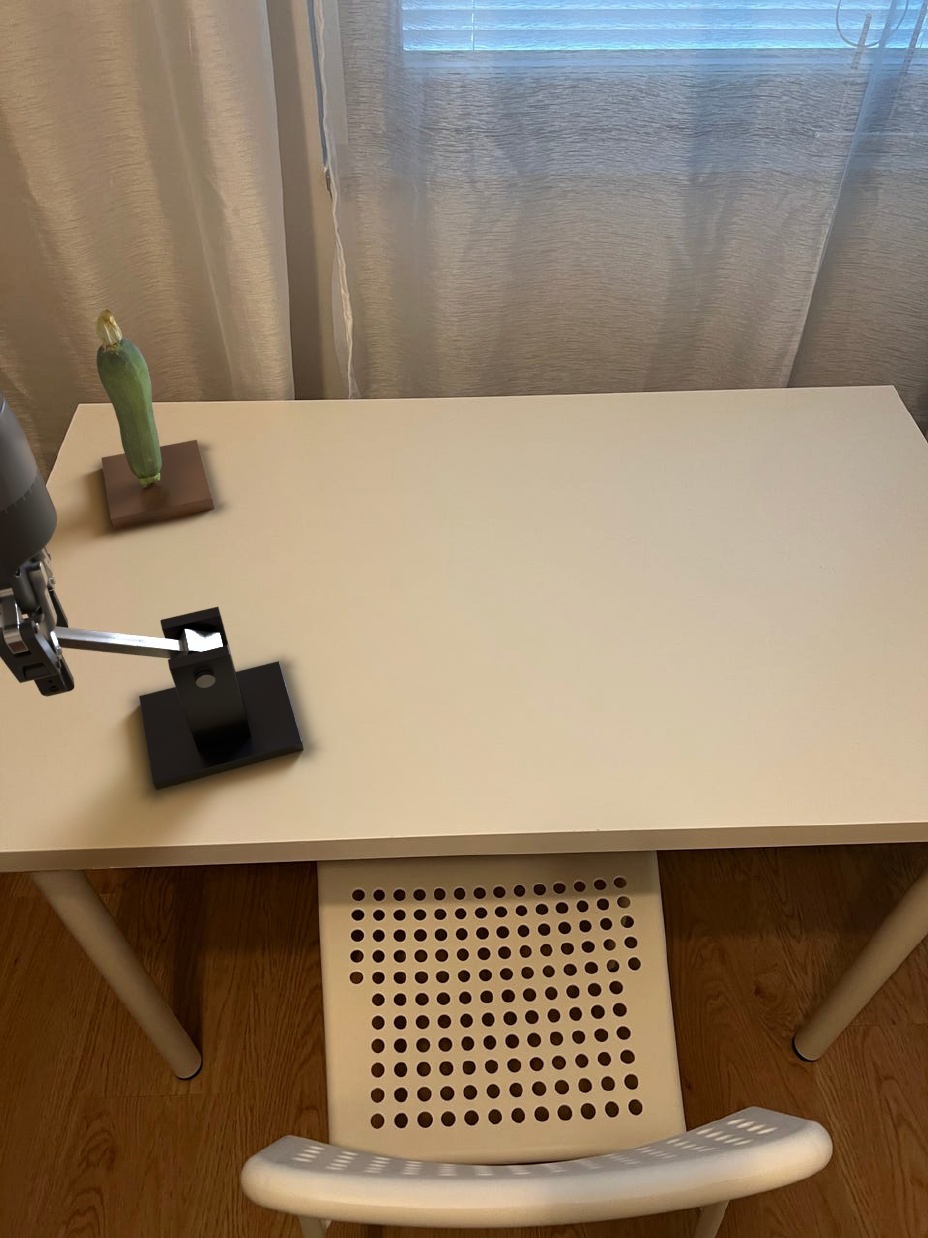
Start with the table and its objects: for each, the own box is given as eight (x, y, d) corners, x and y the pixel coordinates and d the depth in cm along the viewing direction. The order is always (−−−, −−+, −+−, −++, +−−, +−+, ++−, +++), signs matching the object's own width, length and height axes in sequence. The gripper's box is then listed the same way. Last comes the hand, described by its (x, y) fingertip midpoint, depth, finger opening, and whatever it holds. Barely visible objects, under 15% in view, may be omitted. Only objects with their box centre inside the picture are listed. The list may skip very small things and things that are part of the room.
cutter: (155, 791, 75) (118, 704, 66) (142, 703, 80) (105, 612, 71) (304, 750, 77) (287, 661, 68) (281, 669, 83) (262, 576, 74)
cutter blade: (31, 673, 63) (40, 649, 62) (27, 620, 67) (36, 596, 65) (217, 688, 71) (228, 667, 70) (206, 640, 74) (216, 619, 73)
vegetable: (131, 469, 98) (76, 292, 83) (173, 462, 99) (127, 286, 84) (134, 496, 95) (78, 319, 80) (178, 489, 96) (130, 312, 81)
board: (114, 530, 94) (110, 519, 93) (104, 468, 100) (101, 457, 99) (215, 509, 96) (212, 498, 95) (199, 450, 102) (196, 439, 101)
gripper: (42, 544, 50) (121, 724, 63) (29, 392, 59) (101, 578, 72) (-109, 576, 49) (4, 754, 62) (-100, 414, 58) (-2, 600, 70)
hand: (56, 658), depth 67 cm, fingers closed on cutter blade, 5 cm apart
